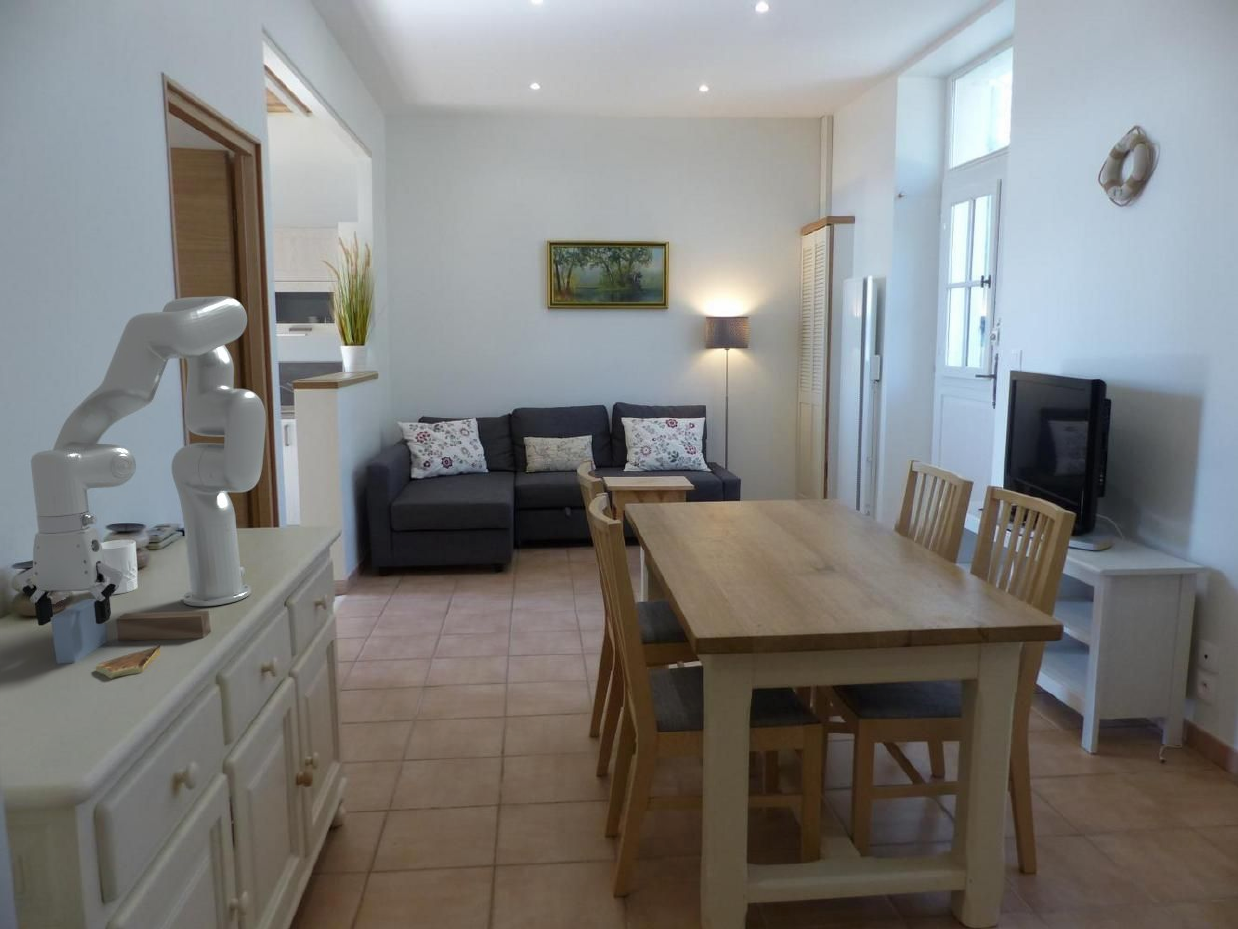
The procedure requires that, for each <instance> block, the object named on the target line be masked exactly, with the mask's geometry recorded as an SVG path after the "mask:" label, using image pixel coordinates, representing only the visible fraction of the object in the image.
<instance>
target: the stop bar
mask: <svg viewBox="0 0 1238 929" xmlns="http://www.w3.org/2000/svg"><path fill="white" fill-rule="evenodd" d="M115 621H116V622H115V623H116V629H117V636H118V637H117V638H118V641H119V642H120V641H121V642H124V641H149V640H150V641H151V640H179V639H203V638H206V637H207V636H208V635H209V634H210V633H212V630H211V622H210V614H209V610H193V611H192V610H189V611H165V612H163V611H161V612H160V611H159V612H134V613H133V612H132V613H129V612H128V613H124V614H122V615H120V616H119V617H117V618H115Z"/></svg>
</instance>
